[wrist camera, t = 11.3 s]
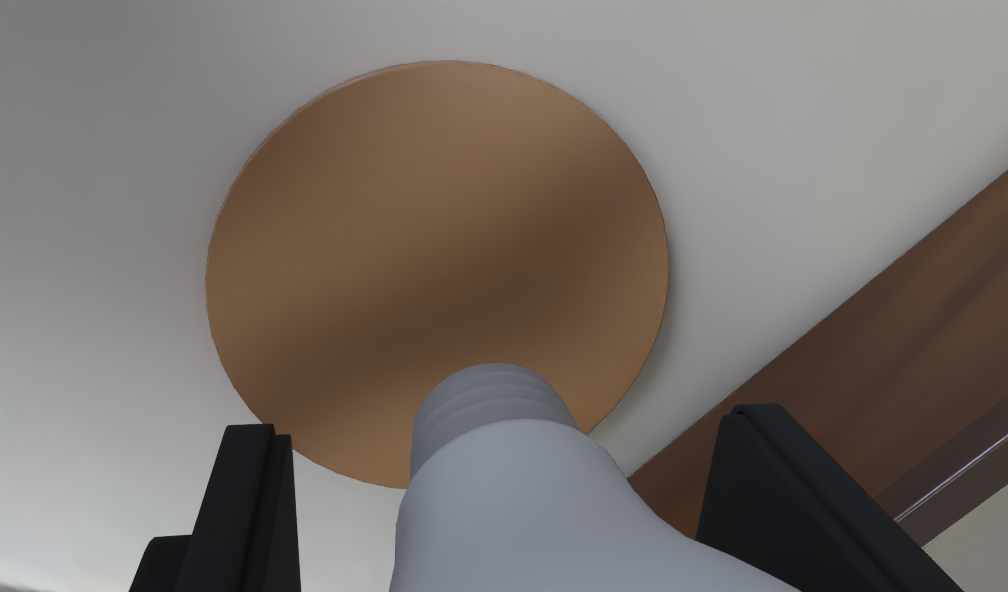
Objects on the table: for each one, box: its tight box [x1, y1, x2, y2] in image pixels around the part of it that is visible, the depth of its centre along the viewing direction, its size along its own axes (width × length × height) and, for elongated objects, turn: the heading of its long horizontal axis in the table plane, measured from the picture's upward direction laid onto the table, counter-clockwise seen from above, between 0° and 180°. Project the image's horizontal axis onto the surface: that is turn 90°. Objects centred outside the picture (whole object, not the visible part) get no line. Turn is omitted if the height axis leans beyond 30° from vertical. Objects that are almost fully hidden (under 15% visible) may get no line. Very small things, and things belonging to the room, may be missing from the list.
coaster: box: [205, 61, 669, 489], centre depth 16 cm, size 10×10×1 cm
